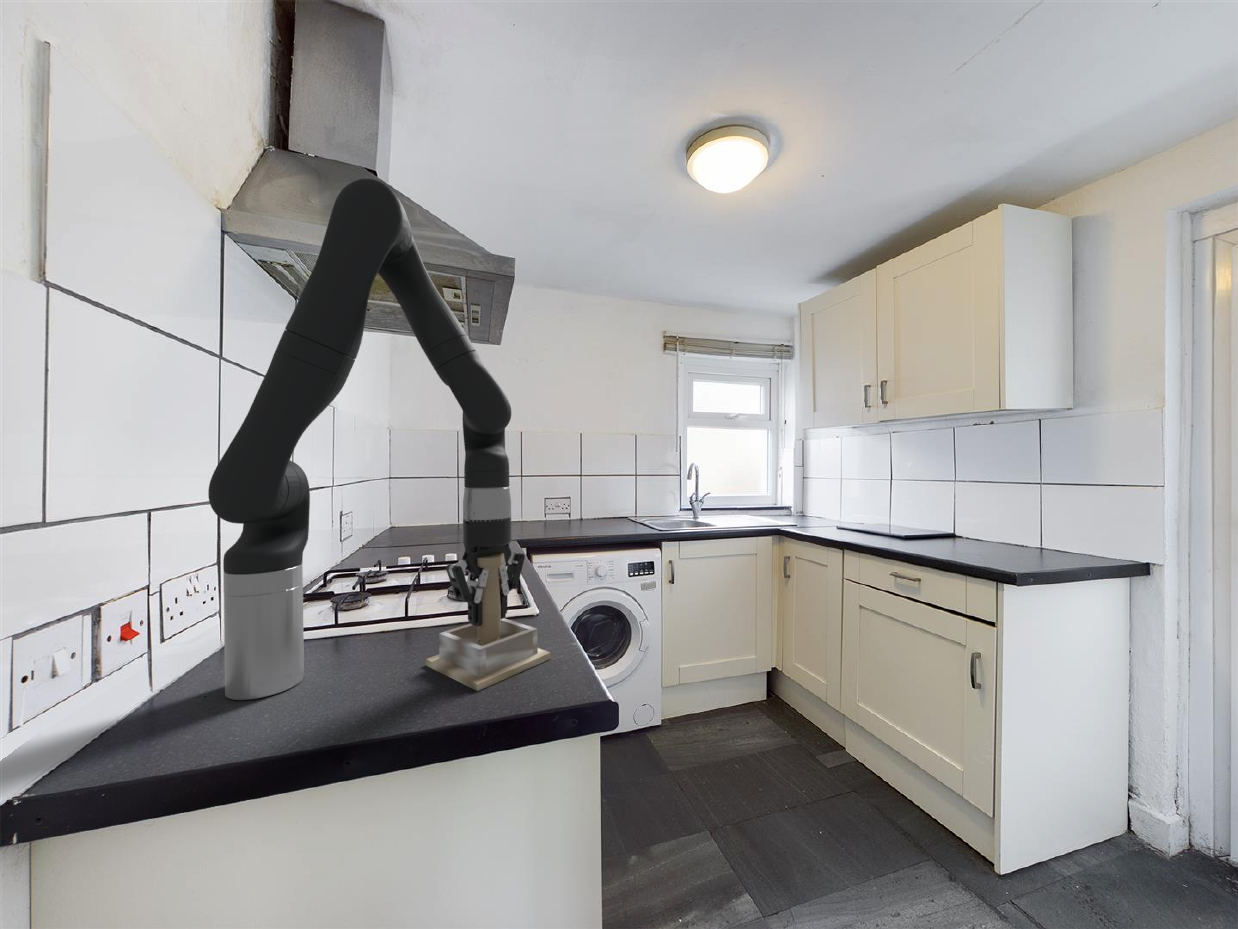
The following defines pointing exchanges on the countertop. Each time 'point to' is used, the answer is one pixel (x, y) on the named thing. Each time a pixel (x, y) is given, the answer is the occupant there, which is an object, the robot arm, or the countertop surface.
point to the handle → (490, 600)
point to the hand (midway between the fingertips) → (488, 620)
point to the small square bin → (487, 654)
